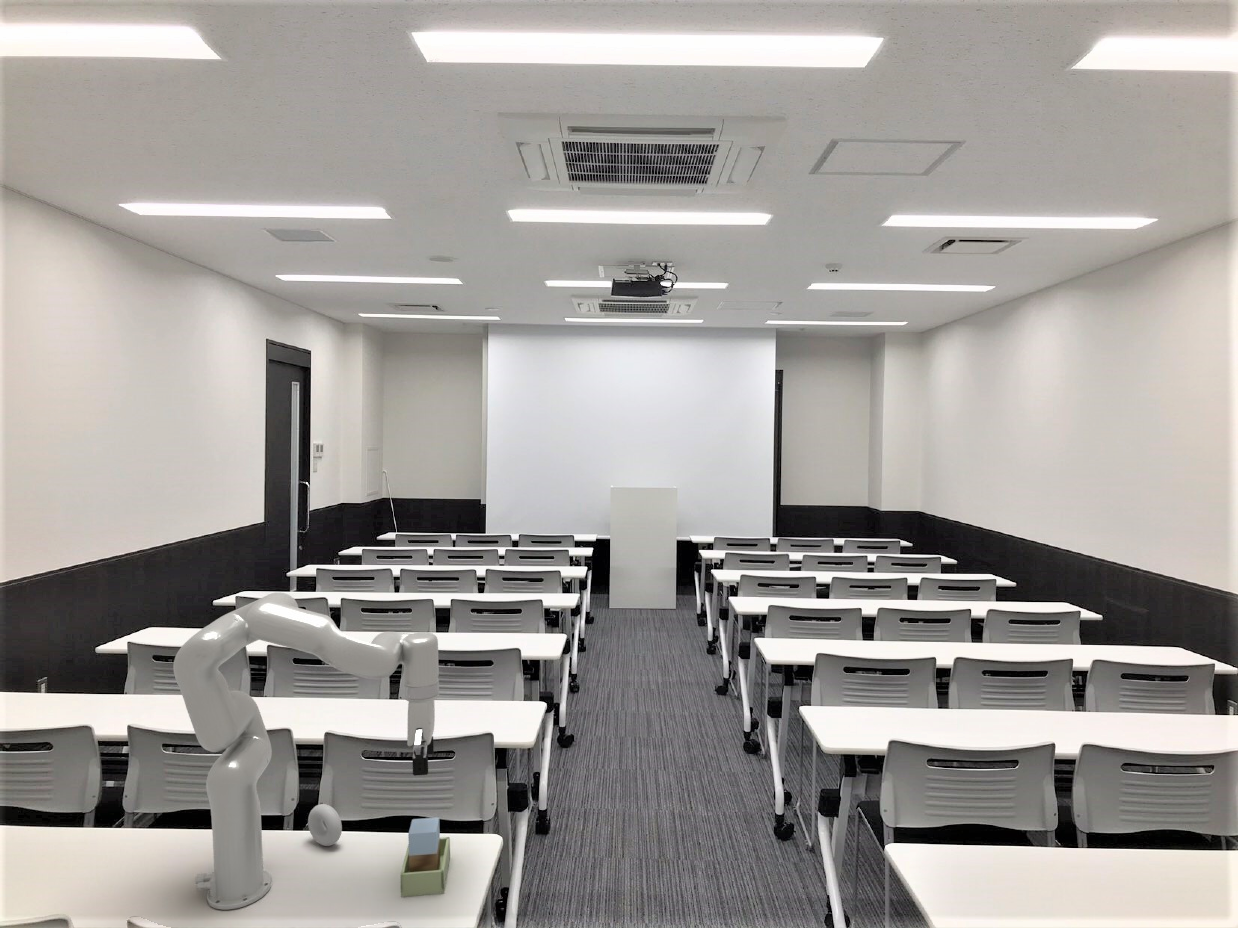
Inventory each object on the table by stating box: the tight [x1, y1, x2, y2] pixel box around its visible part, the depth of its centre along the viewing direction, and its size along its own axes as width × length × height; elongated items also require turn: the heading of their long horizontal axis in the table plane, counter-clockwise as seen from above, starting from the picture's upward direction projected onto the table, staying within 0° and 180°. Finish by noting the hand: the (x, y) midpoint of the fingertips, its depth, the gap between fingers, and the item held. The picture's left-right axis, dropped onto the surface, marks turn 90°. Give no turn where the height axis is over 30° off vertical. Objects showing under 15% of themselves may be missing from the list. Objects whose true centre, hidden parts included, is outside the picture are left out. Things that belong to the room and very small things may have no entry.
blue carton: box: [408, 817, 441, 856], centre depth 168 cm, size 6×6×5 cm
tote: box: [399, 836, 451, 898], centre depth 169 cm, size 9×13×5 cm
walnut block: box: [409, 840, 440, 872], centre depth 168 cm, size 6×6×6 cm
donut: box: [307, 803, 343, 847], centre depth 181 cm, size 10×4×10 cm, turn 62°
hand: (423, 763), depth 167 cm, fingers open, 9 cm apart
